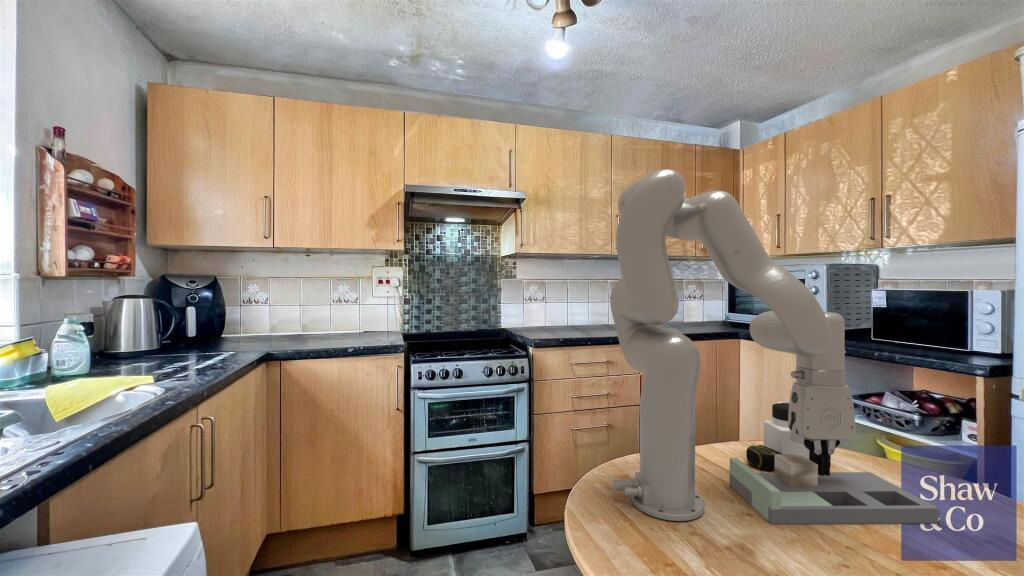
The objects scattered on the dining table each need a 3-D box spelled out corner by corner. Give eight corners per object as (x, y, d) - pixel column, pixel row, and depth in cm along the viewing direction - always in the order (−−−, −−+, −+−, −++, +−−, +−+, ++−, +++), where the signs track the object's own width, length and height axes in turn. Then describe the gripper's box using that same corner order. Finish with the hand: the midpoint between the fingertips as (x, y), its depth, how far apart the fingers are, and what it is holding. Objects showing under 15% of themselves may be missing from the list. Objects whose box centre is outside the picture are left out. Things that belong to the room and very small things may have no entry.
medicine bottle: (812, 461, 99) (813, 408, 98) (780, 461, 99) (781, 408, 98) (792, 449, 106) (793, 399, 106) (763, 449, 106) (763, 399, 106)
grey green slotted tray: (771, 524, 73) (771, 491, 73) (729, 485, 87) (729, 457, 87) (938, 523, 73) (939, 490, 73) (869, 484, 87) (869, 457, 87)
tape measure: (789, 470, 94) (789, 453, 94) (764, 475, 92) (765, 457, 92) (762, 458, 101) (762, 442, 101) (738, 462, 99) (739, 445, 98)
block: (790, 486, 81) (790, 464, 81) (774, 474, 86) (774, 454, 86) (817, 486, 81) (817, 464, 81) (799, 474, 86) (800, 454, 86)
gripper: (793, 381, 80) (793, 482, 80) (875, 381, 80) (875, 481, 80) (768, 373, 87) (769, 465, 87) (843, 372, 87) (843, 464, 87)
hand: (819, 472), depth 84 cm, fingers closed
